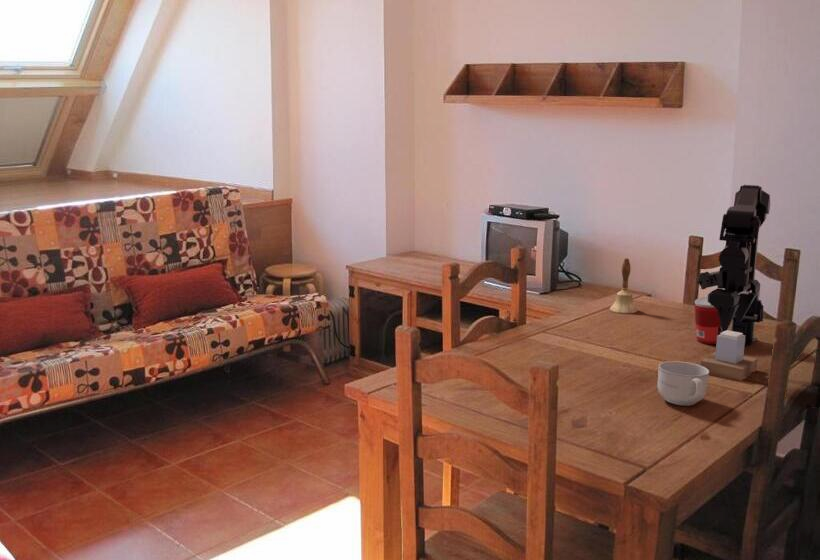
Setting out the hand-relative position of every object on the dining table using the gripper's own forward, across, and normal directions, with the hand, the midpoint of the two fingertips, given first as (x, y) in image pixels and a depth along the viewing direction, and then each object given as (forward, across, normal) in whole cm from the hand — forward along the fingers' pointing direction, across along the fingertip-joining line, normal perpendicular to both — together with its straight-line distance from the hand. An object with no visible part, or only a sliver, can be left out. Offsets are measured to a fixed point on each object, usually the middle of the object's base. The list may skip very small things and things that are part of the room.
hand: (731, 325), depth 218 cm
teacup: (+12, +27, 0) cm, 29 cm away
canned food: (+11, -21, -12) cm, 27 cm away
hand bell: (+12, -35, -45) cm, 58 cm away
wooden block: (+12, 0, 0) cm, 12 cm away
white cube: (+8, 0, 0) cm, 9 cm away
